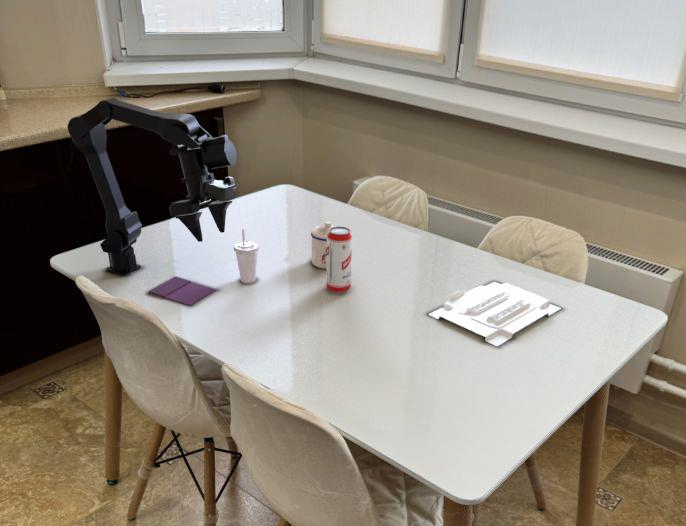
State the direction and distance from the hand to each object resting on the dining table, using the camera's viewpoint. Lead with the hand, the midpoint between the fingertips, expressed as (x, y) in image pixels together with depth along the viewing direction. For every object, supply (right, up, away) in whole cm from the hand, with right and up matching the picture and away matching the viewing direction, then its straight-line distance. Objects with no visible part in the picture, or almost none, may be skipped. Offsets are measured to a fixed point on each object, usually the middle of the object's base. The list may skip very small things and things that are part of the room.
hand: (211, 236), depth 169 cm
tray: (+70, -18, +3) cm, 72 cm away
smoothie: (+7, -9, +12) cm, 17 cm away
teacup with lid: (+28, -3, +24) cm, 37 cm away
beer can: (+31, -12, +10) cm, 34 cm away
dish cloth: (-8, -13, +5) cm, 16 cm away
